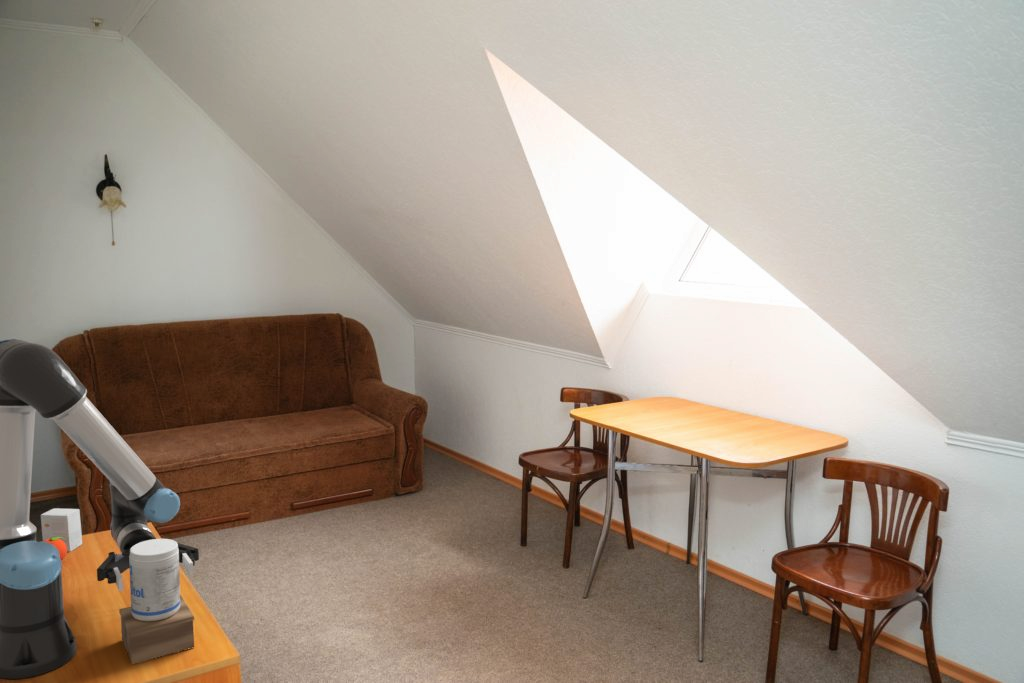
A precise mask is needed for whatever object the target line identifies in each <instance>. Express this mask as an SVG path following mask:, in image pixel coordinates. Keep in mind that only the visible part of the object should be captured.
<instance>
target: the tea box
mask: <svg viewBox="0 0 1024 683" xmlns="http://www.w3.org/2000/svg"><path fill="white" fill-rule="evenodd" d="M118 611H119V612H118V613H119V615H120V623H121V624H120V626H121V641H122V640H123V641H122V643H123V645H124V648H125V650H127V651H126V653H127V655H128V658H129V660H130V662H132V663H131V664H133V665H135V664H134V663H137V664H139V663H138V662H140V663H143V662H142V661H144V662H146V660H148V661H150V660H149V659H151V660H154V659H153V658H155V659H158V658H157V657H159V658H161V657H160V656H162V657H165V656H164V655H166V656H168V655H167V654H170V655H172V654H171V653H173V654H176V653H175V652H177V653H179V652H178V651H181V652H183V651H182V650H184V649H188V648H191V649H193V648H192V647H194V648H195V634H194V621H195V616H194V614H193V613H192V611H191V609H190V608H189V606H188V604H187V603H186V602H185V600H184V599H183V597H182V595H181V594H180V608H179V610H178V611H177V612H176V613H175V614H174V615H172V616H170V617H168V618H165V619H162V620H157V621H140V620H137V619H135V618H134V617H133V616H132V613H131V606H128V607H123V608H119V609H118ZM188 650H189V649H188ZM184 651H185V650H184Z"/></svg>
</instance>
